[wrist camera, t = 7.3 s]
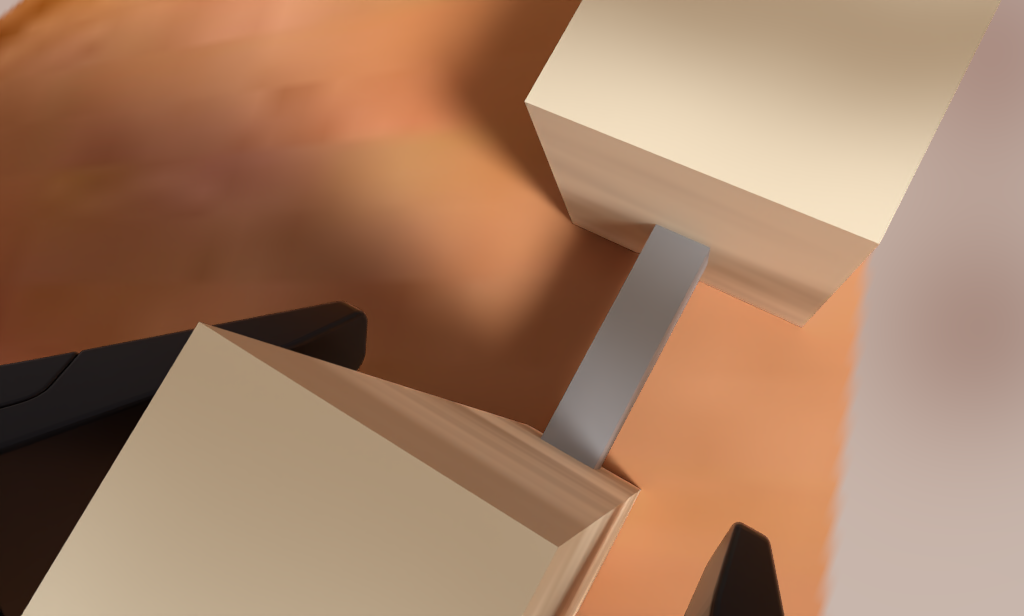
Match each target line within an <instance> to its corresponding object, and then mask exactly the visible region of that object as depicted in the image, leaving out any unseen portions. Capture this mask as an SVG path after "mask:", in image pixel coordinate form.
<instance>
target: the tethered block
mask: <svg viewBox="0 0 1024 616" xmlns="http://www.w3.org/2000/svg"><path fill="white" fill-rule="evenodd" d="M1000 2H1001V0H582V2H581V4H580V5H579V7H578V9H577V11H576V12H575V14H574V16H573V18H572V19H571V21H570V23H569V25H568V26H567V28H566V30H565V32H564V33H563V35H562V37H561V39H560V40H559V42H558V44H557V46H556V47H555V49H554V51H553V53H552V54H551V56H550V58H549V60H548V61H547V63H546V65H545V67H544V68H543V70H542V72H541V74H540V75H539V77H538V79H537V81H536V82H535V84H534V86H533V88H532V89H531V91H530V93H529V95H528V96H527V98H526V100H525V104H526V107H527V109H528V112H529V114H530V117H531V119H532V122H533V124H534V127H535V129H536V132H537V134H538V137H539V140H540V142H541V145H542V147H543V150H544V152H545V155H546V157H547V160H548V162H549V165H550V167H551V170H552V172H553V175H554V178H555V180H556V183H557V185H558V188H559V190H560V193H561V195H562V198H563V200H564V203H565V205H566V208H567V210H568V213H569V216H570V218H571V221H572V223H573V224H575V225H577V226H579V227H582V228H584V229H586V230H588V231H590V232H593V233H595V234H597V235H599V236H601V237H604V238H606V239H608V240H610V241H612V242H615V243H617V244H619V245H621V246H623V247H626V248H628V249H630V250H632V251H634V252H637V253H639V254H640V255H639V257H638V259H637V260H636V262H635V264H634V266H633V268H632V270H631V272H630V273H629V275H628V277H627V279H626V281H625V283H624V285H623V286H622V288H621V290H620V292H619V294H618V296H617V298H616V299H615V301H614V303H613V305H612V307H611V309H610V311H609V312H608V314H607V316H606V318H605V320H604V322H603V324H602V325H601V327H600V329H599V331H598V333H597V335H596V337H595V338H594V340H593V342H592V344H591V346H590V348H589V350H588V351H587V353H586V355H585V357H584V359H583V361H582V363H581V364H580V366H579V368H578V370H577V372H576V374H575V376H574V377H573V379H572V381H571V383H570V385H569V387H568V389H567V390H566V392H565V394H564V396H563V398H562V400H561V402H560V403H559V405H558V407H557V409H556V411H555V413H554V415H553V416H552V418H551V420H550V422H549V424H548V426H547V428H546V429H545V431H544V433H542V432H540V431H538V430H536V429H535V428H533V427H531V426H529V425H527V424H524V423H520V422H517V421H514V420H511V419H508V418H504V417H501V416H498V415H495V414H492V413H488V412H485V411H482V410H479V409H476V408H473V407H469V406H466V405H463V404H460V403H457V402H453V401H450V400H447V399H444V398H441V397H437V396H434V395H431V394H428V393H425V392H422V391H418V390H415V389H412V388H409V387H406V386H402V385H399V384H396V383H393V382H390V381H386V380H383V379H380V378H377V377H374V376H370V375H367V374H364V373H361V372H358V371H355V370H351V369H348V368H345V367H342V366H339V365H335V364H332V363H329V362H326V361H323V360H319V359H316V358H313V357H310V356H307V355H304V354H300V353H297V352H294V351H291V350H288V349H284V348H281V347H278V346H275V345H272V344H268V343H265V342H262V341H259V340H256V339H253V338H249V337H246V336H243V335H240V334H237V333H233V332H230V331H227V330H224V329H221V328H217V327H214V326H211V325H208V324H205V323H201V322H199V323H198V324H197V326H196V328H195V329H194V331H193V333H192V334H191V336H190V337H189V339H188V341H187V342H186V344H185V346H184V347H183V349H182V351H181V352H180V354H179V356H178V357H177V359H176V361H175V362H174V364H173V366H172V367H171V369H170V371H169V372H168V374H167V376H166V377H165V379H164V380H163V382H162V384H161V385H160V387H159V389H158V390H157V392H156V394H155V395H154V397H153V399H152V400H151V402H150V404H149V405H148V407H147V409H146V410H145V412H144V414H143V415H142V417H141V419H140V420H139V422H138V424H137V425H136V427H135V428H134V430H133V432H132V433H131V435H130V437H129V438H128V440H127V442H126V443H125V445H124V447H123V448H122V450H121V452H120V453H119V455H118V457H117V458H116V460H115V462H114V463H113V465H112V467H111V468H110V470H109V471H108V473H107V475H106V476H105V478H104V480H103V481H102V483H101V485H100V486H99V488H98V490H97V491H96V493H95V495H94V496H93V498H92V500H91V501H90V503H89V505H88V506H87V508H86V510H85V511H84V513H83V514H82V516H81V518H80V519H79V521H78V523H77V524H76V526H75V528H74V529H73V531H72V533H71V534H70V536H69V538H68V539H67V541H66V543H65V544H64V546H63V548H62V549H61V551H60V553H59V554H58V556H57V557H56V559H55V561H54V562H53V564H52V566H51V567H50V569H49V571H48V572H47V574H46V576H45V577H44V579H43V581H42V582H41V584H40V586H39V587H38V589H37V591H36V592H35V594H34V596H33V597H32V599H31V600H30V602H29V604H28V605H27V607H26V609H25V610H24V612H23V614H22V615H21V616H575V615H576V613H577V612H578V610H579V608H580V606H581V604H582V603H583V601H584V599H585V597H586V595H587V593H588V591H589V589H590V587H591V585H592V583H593V581H594V579H595V577H596V575H597V574H598V572H599V570H600V568H601V566H602V564H603V562H604V560H605V558H606V556H607V554H608V552H609V550H610V548H611V547H612V545H613V543H614V541H615V539H616V537H617V535H618V533H619V531H620V529H621V527H622V525H623V523H624V521H625V519H626V518H627V516H628V514H629V512H630V510H631V508H632V506H633V504H634V502H635V500H636V498H637V496H638V494H639V492H640V490H641V489H640V488H638V487H636V486H634V485H633V484H631V483H629V482H627V481H626V480H624V479H622V478H620V477H619V476H617V475H615V474H613V473H612V472H610V471H608V470H606V469H605V468H603V467H601V466H602V464H603V462H604V460H605V458H606V456H607V454H608V453H609V451H610V449H611V447H612V445H613V443H614V441H615V439H616V437H617V435H618V434H619V432H620V430H621V428H622V426H623V424H624V422H625V420H626V418H627V416H628V415H629V413H630V411H631V409H632V407H633V405H634V403H635V401H636V399H637V397H638V396H639V394H640V392H641V390H642V388H643V386H644V384H645V382H646V380H647V378H648V376H649V375H650V373H651V371H652V369H653V367H654V365H655V363H656V361H657V359H658V357H659V356H660V354H661V352H662V350H663V348H664V346H665V344H666V342H667V340H668V338H669V337H670V335H671V333H672V331H673V329H674V327H675V325H676V323H677V321H678V319H679V318H680V316H681V314H682V312H683V310H684V308H685V306H686V304H687V302H688V300H689V299H690V297H691V295H692V293H693V291H694V289H695V287H696V285H697V283H698V281H700V282H703V283H705V284H707V285H709V286H711V287H714V288H716V289H718V290H720V291H722V292H725V293H727V294H729V295H731V296H733V297H736V298H738V299H740V300H742V301H744V302H747V303H749V304H751V305H753V306H755V307H758V308H760V309H762V310H764V311H766V312H769V313H771V314H773V315H775V316H777V317H780V318H782V319H784V320H786V321H788V322H791V323H793V324H795V325H797V326H799V327H803V326H804V325H805V324H806V322H807V321H808V320H809V319H810V318H811V317H812V316H813V315H814V314H815V313H816V312H817V311H818V310H819V309H820V307H821V306H822V305H823V304H824V303H825V302H826V301H827V300H828V299H829V298H830V297H831V296H832V295H833V293H834V292H835V291H836V290H837V289H838V288H839V287H840V286H841V285H842V284H843V283H844V282H845V281H846V280H847V278H848V277H849V276H850V275H851V274H852V273H853V272H854V271H855V270H856V269H857V268H858V267H859V266H860V264H861V263H862V262H863V261H864V260H865V259H866V258H867V257H868V256H869V255H870V254H871V253H872V252H873V251H874V249H875V248H876V247H877V246H878V245H879V244H880V242H881V240H882V238H883V236H884V234H885V232H886V230H887V228H888V226H889V224H890V222H891V220H892V218H893V216H894V214H895V212H896V210H897V208H898V206H899V204H900V202H901V200H902V198H903V196H904V194H905V192H906V190H907V188H908V186H909V184H910V182H911V180H912V178H913V176H914V174H915V172H916V170H917V168H918V166H919V164H920V162H921V160H922V158H923V156H924V154H925V152H926V150H927V148H928V146H929V144H930V142H931V140H932V138H933V136H934V134H935V132H936V130H937V128H938V126H939V124H940V121H941V120H942V118H943V116H944V114H945V112H946V110H947V108H948V106H949V104H950V102H951V100H952V98H953V96H954V94H955V92H956V90H957V88H958V86H959V84H960V82H961V80H962V78H963V76H964V74H965V72H966V70H967V68H968V66H969V64H970V62H971V60H972V58H973V56H974V54H975V52H976V50H977V48H978V46H979V44H980V42H981V40H982V38H983V36H984V34H985V32H986V30H987V28H988V26H989V24H990V21H991V20H992V18H993V16H994V13H995V12H996V10H997V7H998V6H999V4H1000Z"/></svg>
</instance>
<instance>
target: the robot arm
mask: <svg viewBox="0 0 1024 616" xmlns="http://www.w3.org/2000/svg"><path fill="white" fill-rule="evenodd" d="M367 322H368V321H367V316H366V313H364V312H363V311H362V310H360V309H358V308H357V307H355V306H353V305H351V304H349V303H348V302H345V301H336V302H331V303H326V304H321V305H316V306H310V307H305V308H300V309H295V310H290V311H284V312H279V313H274V314H269V315H264V316H258V317H253V318H248V319H243V320H238V321H232V322H227V323H222V324H217V325H212V326H214V327H217V328H221V329H224V330H227V331H230V332H233V333H237V334H240V335H243V336H246V337H249V338H253V339H256V340H259V341H262V342H265V343H268V344H272V345H275V346H278V347H281V348H284V349H288V350H291V351H294V352H297V353H300V354H304V355H307V356H310V357H313V358H316V359H319V360H323V361H326V362H329V363H332V364H335V365H339V366H342V367H345V368H348V369H351V370H355V371H357V370H358V368H359V367H360V365H361V364H362V362H363V360H364V357H365V351H366V337H367ZM193 331H194V329H191V330H186V331H180V332H175V333H170V334H165V335H160V336H155V337H149V338H144V339H139V340H134V341H128V342H123V343H118V344H113V345H108V346H102V347H97V348H92V349H87V350H83V351H81V352H80V353H78V352H71V353H65V354H60V355H55V356H50V357H45V358H39V359H33V360H27V361H22V362H16V363H10V364H5V365H0V616H21V615H22V614H23V612H24V610H25V609H26V607H27V605H28V604H29V602H30V600H31V599H32V597H33V596H34V594H35V592H36V591H37V589H38V587H39V586H40V584H41V582H42V581H43V579H44V577H45V576H46V574H47V572H48V571H49V569H50V567H51V566H52V564H53V562H54V561H55V559H56V557H57V556H58V554H59V553H60V551H61V549H62V548H63V546H64V544H65V543H66V541H67V539H68V538H69V536H70V534H71V533H72V531H73V529H74V528H75V526H76V524H77V523H78V521H79V519H80V518H81V516H82V514H83V513H84V511H85V510H86V508H87V506H88V505H89V503H90V501H91V500H92V498H93V496H94V495H95V493H96V491H97V490H98V488H99V486H100V485H101V483H102V481H103V480H104V478H105V476H106V475H107V473H108V471H109V470H110V468H111V467H112V465H113V463H114V462H115V460H116V458H117V457H118V455H119V453H120V452H121V450H122V448H123V447H124V445H125V443H126V442H127V440H128V438H129V437H130V435H131V433H132V432H133V430H134V428H135V427H136V425H137V424H138V422H139V420H140V419H141V417H142V415H143V414H144V412H145V410H146V409H147V407H148V405H149V404H150V402H151V400H152V399H153V397H154V395H155V394H156V392H157V390H158V389H159V387H160V385H161V384H162V382H163V380H164V379H165V377H166V376H167V374H168V372H169V371H170V369H171V367H172V366H173V364H174V362H175V361H176V359H177V357H178V356H179V354H180V352H181V351H182V349H183V347H184V346H185V344H186V342H187V341H188V339H189V337H190V336H191V334H192V333H193ZM684 616H784V611H783V606H782V601H781V596H780V591H779V586H778V580H777V575H776V570H775V565H774V560H773V555H772V550H771V545H770V542H769V540H768V538H767V537H766V536H765V535H763V534H761V533H760V532H758V531H756V530H754V529H752V528H751V527H749V526H747V525H745V524H743V523H741V522H736V523H734V524H733V525H732V527H731V528H730V529H729V531H728V532H727V534H726V536H725V537H724V539H723V540H722V542H721V543H720V545H719V546H718V548H717V549H716V551H715V552H714V554H713V555H712V557H711V559H710V560H709V562H708V564H707V566H706V568H705V570H704V572H703V574H702V576H701V579H700V581H699V583H698V586H697V588H696V590H695V592H694V595H693V597H692V599H691V601H690V604H689V606H688V608H687V611H686V613H685V615H684Z"/></svg>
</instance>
